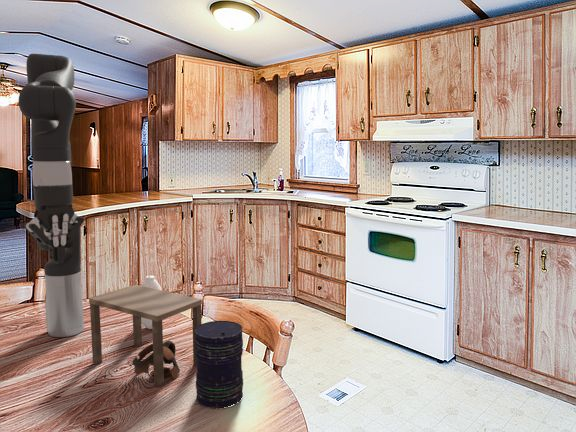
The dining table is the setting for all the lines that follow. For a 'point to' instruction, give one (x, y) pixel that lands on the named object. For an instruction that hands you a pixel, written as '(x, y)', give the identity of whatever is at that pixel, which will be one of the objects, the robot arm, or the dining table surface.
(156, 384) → the wooden side table
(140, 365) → the pottery mug
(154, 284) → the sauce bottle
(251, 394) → the dining table surface
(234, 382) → the dark blue cylinder
